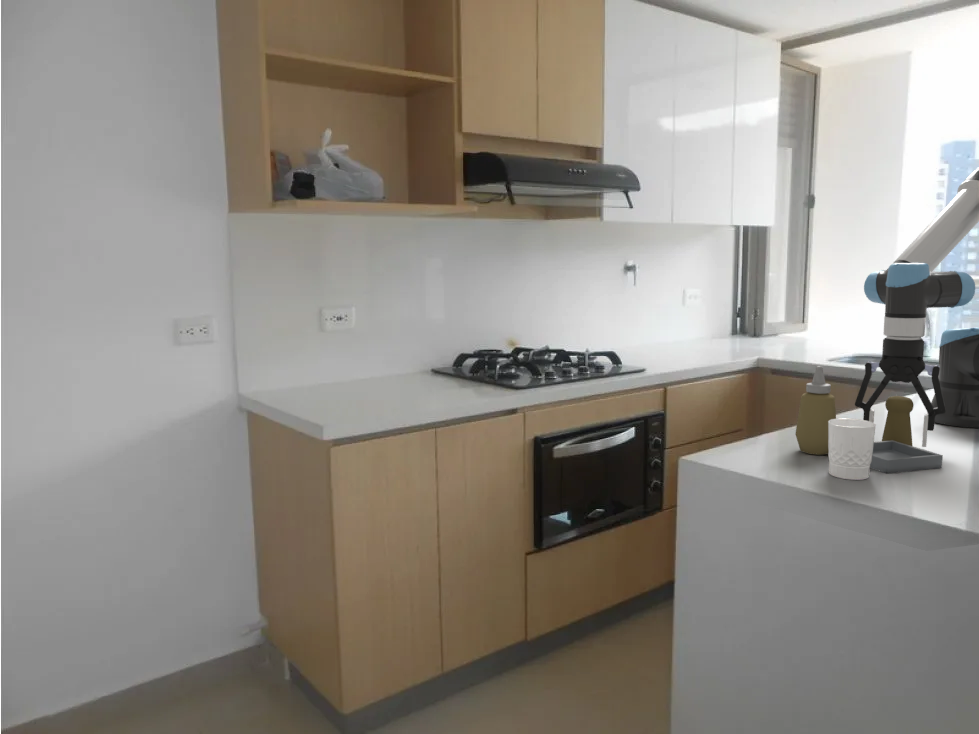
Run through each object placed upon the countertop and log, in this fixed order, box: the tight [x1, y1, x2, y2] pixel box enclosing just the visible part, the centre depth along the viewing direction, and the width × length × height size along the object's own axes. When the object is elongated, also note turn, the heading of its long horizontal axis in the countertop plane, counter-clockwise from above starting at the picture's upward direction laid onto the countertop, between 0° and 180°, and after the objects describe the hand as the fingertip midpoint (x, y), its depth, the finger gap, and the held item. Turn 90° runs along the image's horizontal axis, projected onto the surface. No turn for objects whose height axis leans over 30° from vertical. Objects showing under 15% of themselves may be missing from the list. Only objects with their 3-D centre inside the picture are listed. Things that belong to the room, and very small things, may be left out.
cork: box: [881, 395, 915, 447], centre depth 158 cm, size 6×6×11 cm
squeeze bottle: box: [795, 365, 837, 456], centre depth 155 cm, size 8×8×18 cm
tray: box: [870, 440, 944, 474], centre depth 148 cm, size 13×13×2 cm
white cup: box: [827, 417, 877, 481], centre depth 139 cm, size 8×8×10 cm
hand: (896, 442), depth 159 cm, fingers open, 9 cm apart
